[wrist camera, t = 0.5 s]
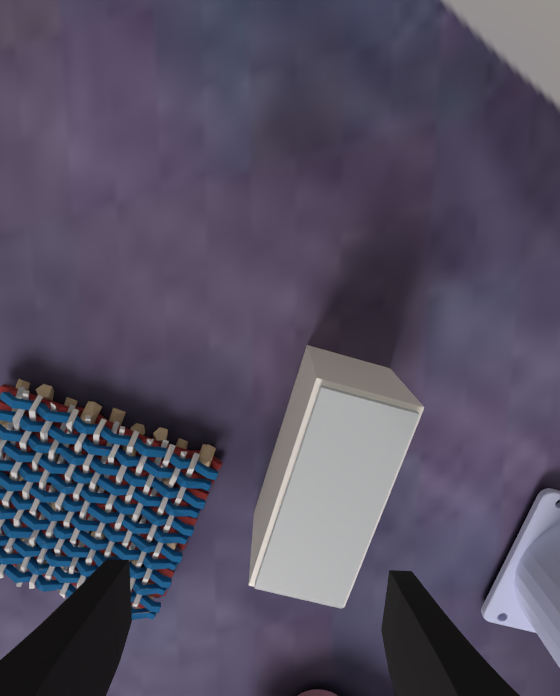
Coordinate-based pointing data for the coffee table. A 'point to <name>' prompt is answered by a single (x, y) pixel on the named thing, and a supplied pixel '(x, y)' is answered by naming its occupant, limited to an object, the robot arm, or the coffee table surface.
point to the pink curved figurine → (317, 693)
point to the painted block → (330, 476)
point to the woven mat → (93, 495)
